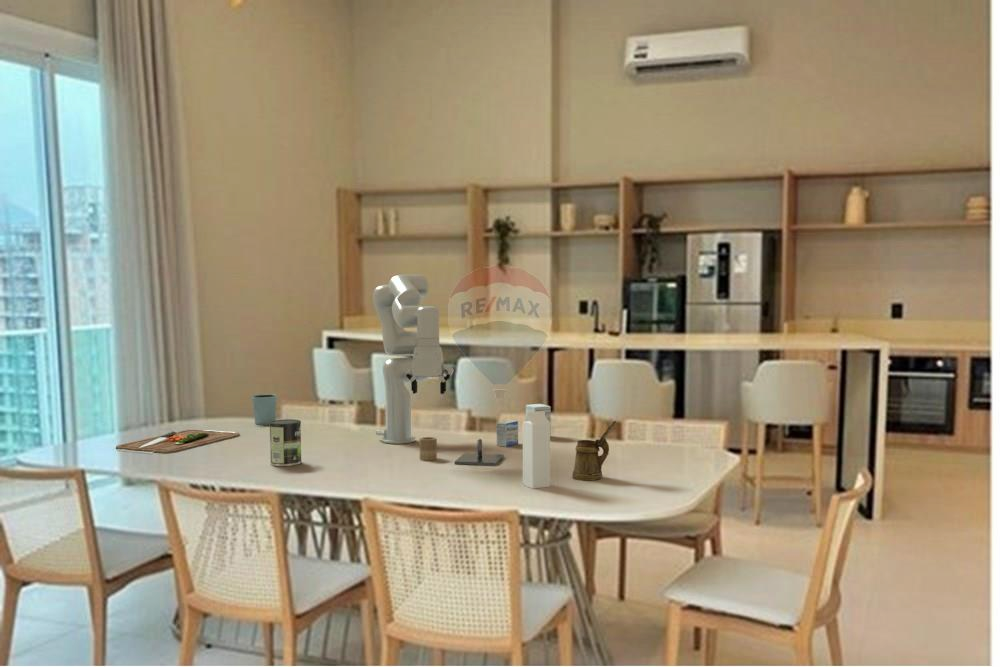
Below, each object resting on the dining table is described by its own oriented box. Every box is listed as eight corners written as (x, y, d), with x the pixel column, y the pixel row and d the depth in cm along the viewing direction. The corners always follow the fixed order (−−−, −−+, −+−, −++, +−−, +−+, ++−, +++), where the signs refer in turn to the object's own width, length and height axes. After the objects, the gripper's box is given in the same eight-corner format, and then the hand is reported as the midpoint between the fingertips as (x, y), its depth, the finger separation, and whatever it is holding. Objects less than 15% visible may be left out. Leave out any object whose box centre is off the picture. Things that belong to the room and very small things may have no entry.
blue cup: (281, 422, 370) (281, 394, 370) (266, 425, 361) (265, 397, 361) (263, 420, 375) (262, 393, 374) (247, 424, 365) (247, 396, 365)
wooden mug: (613, 482, 255) (613, 423, 254) (569, 479, 260) (569, 420, 259) (618, 476, 264) (619, 418, 263) (576, 473, 268) (576, 416, 267)
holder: (454, 464, 282) (454, 442, 282) (464, 455, 296) (464, 434, 296) (496, 465, 280) (496, 443, 279) (504, 457, 293) (503, 436, 293)
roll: (417, 460, 289) (417, 439, 289) (422, 456, 294) (422, 436, 294) (433, 460, 288) (433, 440, 288) (438, 457, 293) (438, 437, 293)
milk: (522, 484, 253) (521, 411, 252) (540, 482, 256) (539, 409, 255) (532, 489, 248) (532, 413, 247) (550, 486, 251) (550, 412, 249)
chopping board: (163, 456, 299) (163, 448, 299) (106, 451, 309) (106, 443, 309) (247, 435, 341) (247, 427, 341) (194, 431, 351) (193, 424, 351)
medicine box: (505, 447, 312) (505, 423, 311) (496, 445, 315) (496, 422, 314) (518, 444, 318) (518, 420, 318) (509, 442, 321) (508, 419, 320)
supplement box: (525, 436, 333) (525, 404, 332) (541, 435, 336) (541, 403, 336) (534, 439, 326) (534, 407, 326) (551, 438, 330) (551, 405, 329)
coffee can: (303, 459, 290) (303, 418, 290) (298, 466, 280) (298, 423, 279) (273, 460, 290) (272, 419, 289) (266, 466, 279) (266, 424, 279)
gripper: (400, 343, 287) (401, 394, 288) (450, 344, 284) (450, 395, 285) (406, 342, 294) (407, 391, 295) (455, 342, 291) (456, 392, 292)
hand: (428, 393), depth 290 cm, fingers open, 9 cm apart
